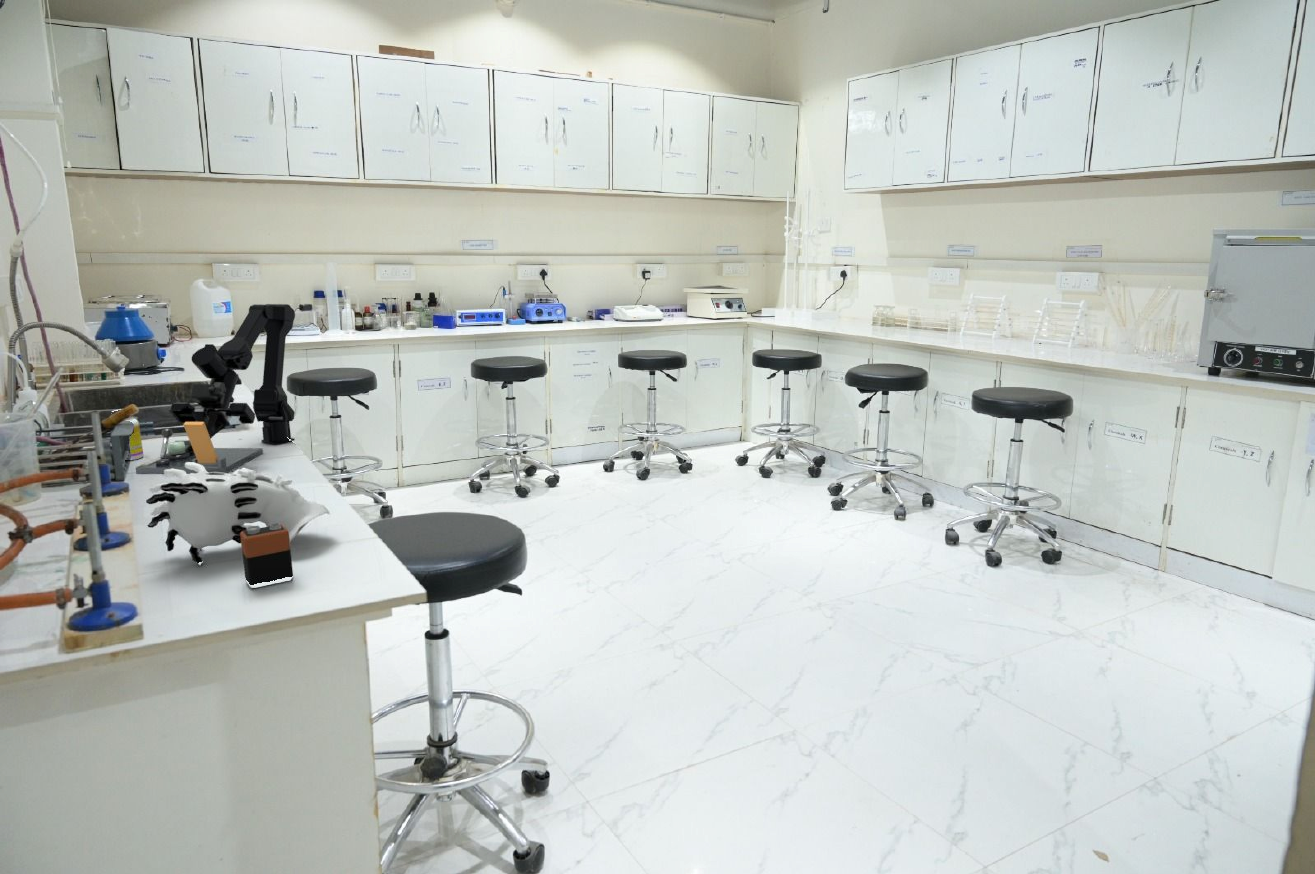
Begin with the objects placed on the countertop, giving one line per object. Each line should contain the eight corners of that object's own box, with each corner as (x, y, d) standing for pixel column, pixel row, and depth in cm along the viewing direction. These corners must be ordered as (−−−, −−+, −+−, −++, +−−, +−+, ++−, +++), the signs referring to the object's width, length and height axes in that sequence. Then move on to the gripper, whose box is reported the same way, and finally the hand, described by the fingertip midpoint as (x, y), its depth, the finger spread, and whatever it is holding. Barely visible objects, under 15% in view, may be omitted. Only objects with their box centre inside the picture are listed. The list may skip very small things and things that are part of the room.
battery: (245, 582, 141) (238, 526, 139) (287, 573, 145) (282, 518, 143) (250, 590, 138) (244, 533, 135) (294, 581, 142) (288, 525, 139)
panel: (182, 452, 225) (180, 439, 225) (263, 453, 225) (262, 440, 225) (134, 474, 205) (132, 459, 204) (224, 474, 205) (222, 460, 204)
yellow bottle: (149, 455, 223) (143, 408, 220) (132, 462, 216) (125, 413, 213) (126, 454, 223) (119, 407, 220) (108, 461, 217) (100, 412, 214)
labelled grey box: (189, 444, 224) (189, 439, 224) (204, 444, 224) (204, 439, 224) (174, 445, 217) (174, 440, 217) (190, 445, 217) (190, 440, 217)
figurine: (332, 568, 155) (142, 576, 141) (322, 540, 169) (149, 544, 155) (337, 480, 152) (144, 479, 138) (327, 459, 166) (151, 457, 152)
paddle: (201, 463, 207) (184, 421, 199) (222, 464, 207) (206, 421, 199) (198, 467, 205) (181, 425, 198) (219, 467, 205) (203, 425, 198)
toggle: (160, 459, 209) (165, 429, 212) (170, 459, 209) (175, 429, 212) (154, 457, 207) (160, 427, 209) (164, 457, 207) (170, 427, 209)
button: (173, 450, 216) (172, 441, 215) (188, 450, 216) (187, 441, 215) (165, 454, 212) (164, 444, 212) (180, 454, 212) (179, 444, 212)
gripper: (168, 370, 204) (147, 423, 196) (244, 370, 204) (226, 424, 196) (189, 396, 214) (170, 448, 205) (262, 396, 214) (246, 448, 205)
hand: (203, 442), depth 203 cm, fingers closed, pressing on paddle
